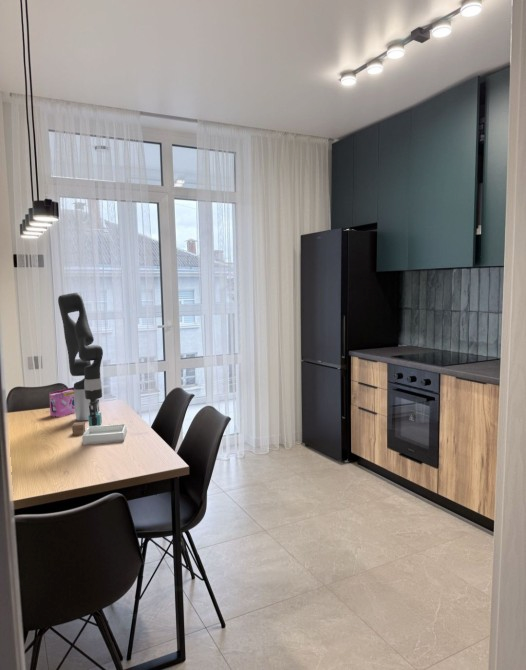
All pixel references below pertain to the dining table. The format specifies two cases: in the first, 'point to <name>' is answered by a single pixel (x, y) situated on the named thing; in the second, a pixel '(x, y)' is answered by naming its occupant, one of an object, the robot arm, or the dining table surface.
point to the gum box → (62, 402)
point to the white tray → (104, 434)
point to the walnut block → (78, 428)
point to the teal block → (99, 419)
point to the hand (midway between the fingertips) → (95, 423)
